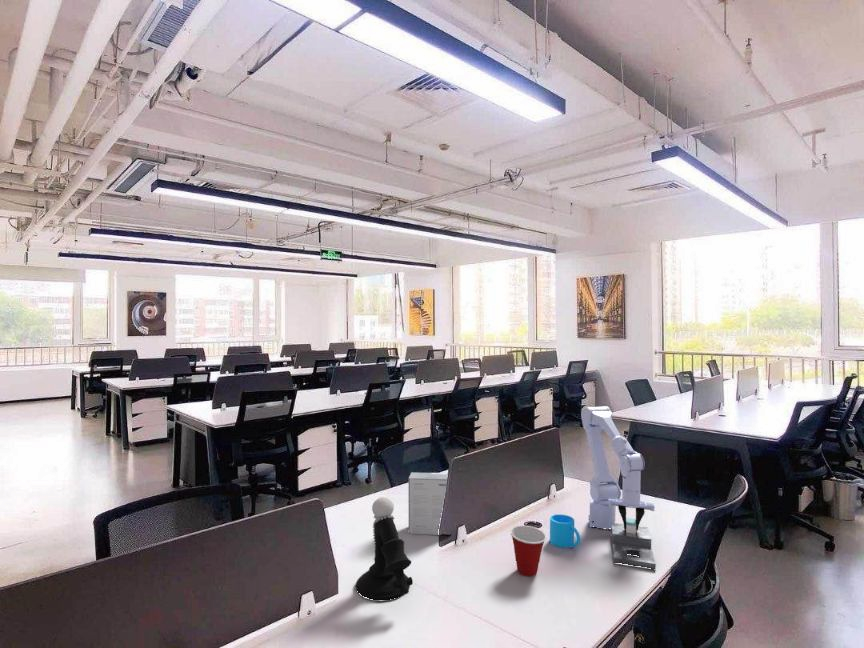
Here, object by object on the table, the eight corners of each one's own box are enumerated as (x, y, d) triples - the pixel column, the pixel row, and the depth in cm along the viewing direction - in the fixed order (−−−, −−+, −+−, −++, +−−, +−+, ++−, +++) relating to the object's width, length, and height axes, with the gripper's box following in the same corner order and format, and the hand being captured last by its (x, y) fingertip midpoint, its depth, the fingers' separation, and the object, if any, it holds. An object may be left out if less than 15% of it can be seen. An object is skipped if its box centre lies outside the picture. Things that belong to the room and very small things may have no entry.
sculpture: (397, 568, 151) (398, 486, 151) (432, 609, 130) (433, 514, 130) (349, 579, 144) (349, 494, 144) (378, 624, 123) (379, 524, 123)
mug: (544, 540, 172) (544, 517, 172) (561, 535, 176) (561, 512, 176) (570, 554, 162) (571, 529, 161) (588, 549, 166) (588, 524, 166)
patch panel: (613, 563, 156) (614, 549, 156) (611, 535, 176) (611, 522, 176) (655, 570, 152) (655, 555, 152) (647, 540, 173) (648, 527, 173)
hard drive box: (452, 527, 182) (453, 473, 181) (451, 536, 174) (452, 479, 174) (410, 525, 183) (411, 471, 183) (407, 534, 176) (408, 478, 175)
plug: (626, 539, 168) (626, 522, 168) (625, 534, 172) (625, 517, 172) (635, 541, 167) (636, 523, 167) (634, 536, 171) (635, 518, 171)
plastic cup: (534, 585, 142) (535, 543, 142) (502, 572, 149) (503, 532, 149) (552, 571, 151) (553, 531, 150) (521, 559, 158) (521, 522, 158)
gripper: (609, 490, 168) (608, 530, 168) (655, 495, 164) (655, 536, 164) (608, 483, 175) (608, 522, 175) (653, 488, 170) (652, 528, 170)
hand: (630, 528), depth 170 cm, fingers closed on plug, 3 cm apart
